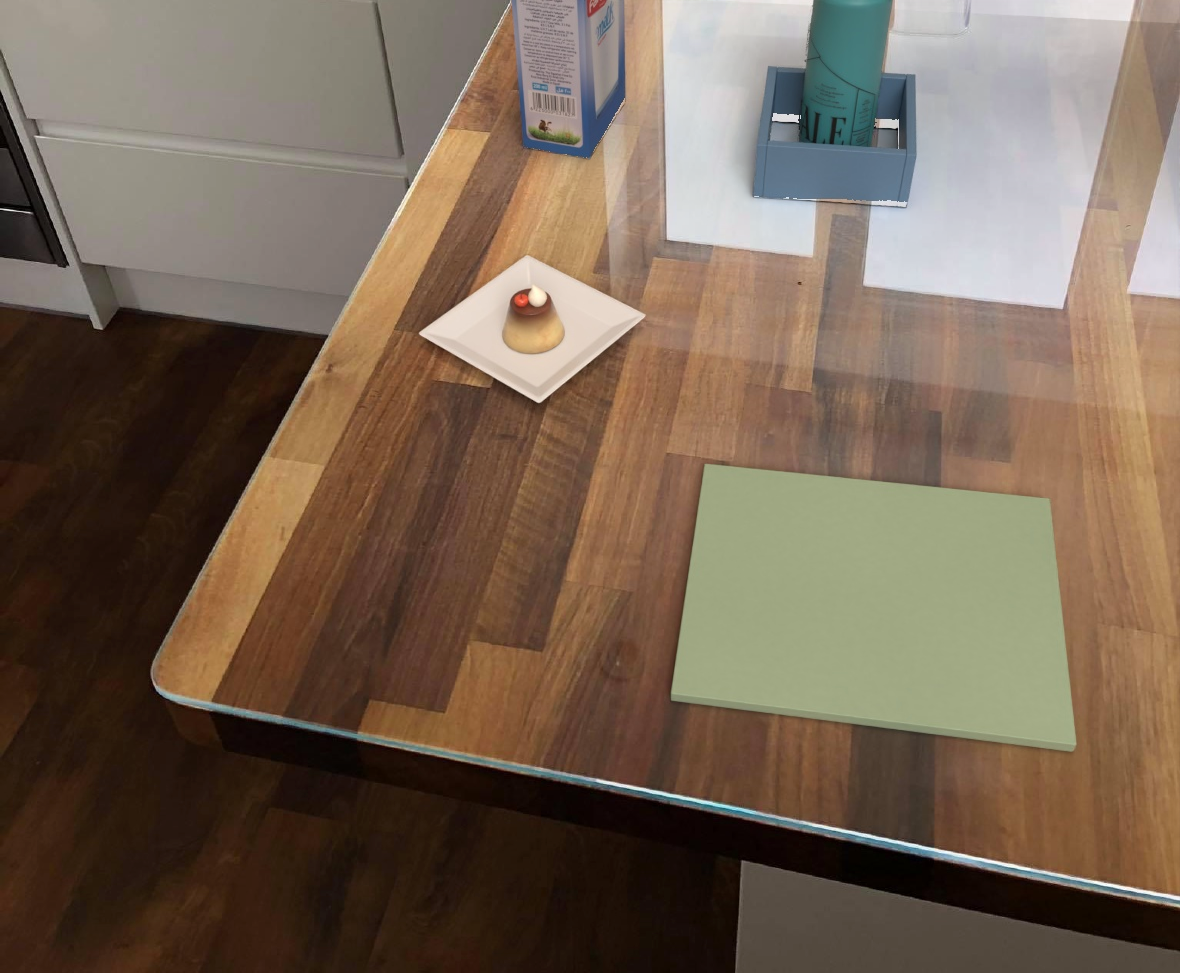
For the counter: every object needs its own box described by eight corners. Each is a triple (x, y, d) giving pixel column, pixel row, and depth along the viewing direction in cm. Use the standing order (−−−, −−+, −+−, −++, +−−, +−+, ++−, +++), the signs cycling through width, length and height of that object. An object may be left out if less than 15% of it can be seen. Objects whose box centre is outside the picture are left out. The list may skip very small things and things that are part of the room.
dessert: (419, 344, 91) (410, 293, 87) (527, 265, 97) (523, 215, 93) (540, 414, 85) (535, 363, 82) (646, 326, 91) (647, 275, 88)
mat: (1047, 506, 78) (1050, 497, 78) (1073, 752, 66) (1077, 744, 66) (704, 471, 81) (704, 463, 81) (670, 700, 69) (670, 693, 69)
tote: (906, 126, 109) (915, 74, 105) (906, 208, 100) (916, 155, 97) (763, 117, 110) (768, 65, 107) (752, 197, 102) (756, 144, 98)
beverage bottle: (871, 142, 107) (907, -92, 92) (869, 185, 103) (907, -53, 88) (796, 137, 108) (820, -95, 93) (791, 179, 104) (815, -57, 89)
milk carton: (562, 92, 114) (551, -132, 100) (625, 102, 113) (623, -124, 98) (523, 148, 108) (504, -81, 93) (589, 160, 107) (580, -72, 92)
